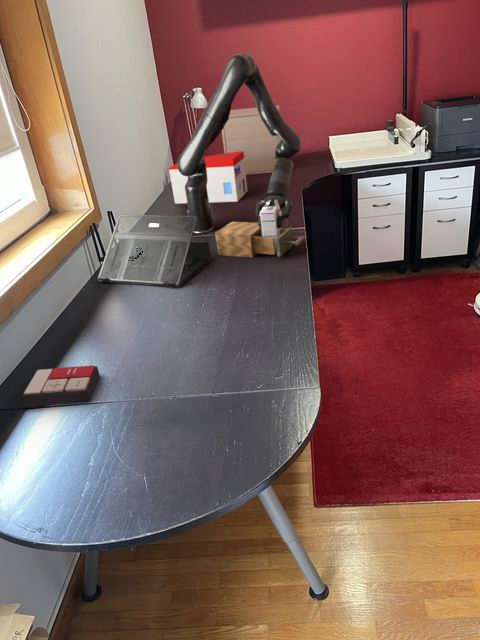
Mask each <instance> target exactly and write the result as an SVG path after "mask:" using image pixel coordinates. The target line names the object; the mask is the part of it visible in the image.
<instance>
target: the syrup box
mask: <svg viewBox="0 0 480 640" xmlns="http://www.w3.org/2000/svg"><path fill="white" fill-rule="evenodd" d="M262 208H263V209H261V211H260V217H261V227H262V236H263V237H274V244H275V249H277V246H276V238H277V237H278V236H279V235H280V228H281V227H280V228H277V227H276V223H277V219H278V217H279V214H278V211H277V207H276V206H269V207H264V206H263V207H262Z"/></svg>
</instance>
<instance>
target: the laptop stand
mask: <svg viewBox="0 0 480 640" xmlns="http://www.w3.org/2000/svg"><path fill="white" fill-rule="evenodd" d="M188 217H189V218H191V217H192V219H193V218H194V219H195V221H194V223H193V224H194V225H192V226H193V228H192V230H191V231H192V232H190V228H189V221H192V220H191V219H190V220H189V221H188V219H189V218H188ZM121 218H122V219H121ZM187 221H188V224H187V225H186V224H185V223H187ZM196 221H197V217H196V216H187V215H177V214H176V215H171V214H170V215H169V214H168V215H167V214H165V215H164V214H120V215H118V217H117V219H116V222H115V227H114V229H113V231H112V234H111V237H110V241H109V244H108V247H107V250H106V253H105V256H104V259H103V262H102V264H101V268H100V271H99V273H98V277H97V280H98V282H103V283H116V284H129V285H130V284H132V285H146V286H157V287H158V286H160V287H171V288H180V287H182V285H184V283H186V282H187V281H188V280H190V278H192V277H193V276H194V275H195V274H196V273H197V272H199V271H200V270H202V268H204V266H206V265H207V264H208V263H209V262H210V261H211V260H212V253H211V249H210V244H209V240H208V241H207V240H193V236H194V233H193V232H194V228H195V225H196ZM190 223H191V222H190ZM166 224H168V226H167V225H166ZM184 224H185V225H186V227H185V228H184ZM191 224H192V223H191ZM165 225H166V226H165ZM169 225H172V226H173V228H171V227H172V226H171V227H170V226H169ZM174 226H177V227H178V228H177V227H176V228H175V227H174ZM190 226H191V225H190ZM179 227H183V229H182V228H181V229H180V228H179ZM136 247H138V248H139V247H140V248H142V249H143V250H142V251H143V253H142V251H141V254H142V255H139V254H138V255H139V257H138V258H137V253H138V252H139V250H140V249H137V250H138V252H137V253H136ZM139 253H140V252H139ZM135 254H136V258H137V259H133V260H134V261H132V258H130V259H131V261H130V259H129V257H132V256H133V257H134V256H135ZM134 258H135V257H134ZM128 260H129V261H128Z"/></svg>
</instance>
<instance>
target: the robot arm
mask: <svg viewBox="0 0 480 640" xmlns="http://www.w3.org/2000/svg"><path fill="white" fill-rule="evenodd" d="M243 85H245V86H246V88H247V89H248V91H249V92H250V94H251V95H252V97H253V101H254V103H255V106H256V108H257V110H258V113H259V115H260V117H261V120H262V121H263V123H264V125H265V126H266V128H267V130H268V131H269V133H270V134H271V135H272V136H276V135H278V136H279V137H280V138H281V141H280V142H279V143H278V144H277V146H276V150H275V165H274V169H273V172H271V173H272V174H271V176H270V179H269V182H268V187H267V191H266V196H265V199H264V200H261V199H260V198H258V199H257V200H256V205H255V211H254V213H255V215H256V217H258V219H257V223H258V225H259V227H261V217H260V211H261V210H262V209H263V207H269V206H276V207H277V211H278V214H279V217H278V219H277V223H276V227H277V228H281V227H282V226H283V223H284V222H283V221H284V219H289V217H290V215H291V213H292V210H293V207H294V203H293V202H292V200H291V199H289V200H287V197H288V193H289V189H290V185H291V179H292V174H293V171H294V170H293V169H294V162H293V161H292V160H291V159H292V157H293V156H295V155H296V154H298V153H299V152H300V151H301V149H302V141H301V138H300V135H298V134H297V132H296V131H295V130H294V129H293V128H292V127H291V126H290V125H289V124H288V123H287V122H286V121H285V119H284V116H283V115H282V113H281V112H280V109H279V110H278V109H277V107H276V106H277V105H276V104H275V102H274V100H273V98H272V96H271V94H270V92H269V90H268V88H267V85H266V84H265V80H264V79H263V76H262V74H261V71H260V69H259V66H258V64H257V62H256V59H255V58H254V56H252V55H251V54H250V53H246V52H243V53H242V52H241V53H236V54H234V55H232V56H231V57H230V58H229V59H228V60H227V62H226V64H225V67H224V69H223V72H222V74H221V77H220V80H219V83H218V85H217V87H216V89H215V91H214V93H212V96H211V98H210V100H209V101H208V103H207V105H206V107H205V109H204V110H203V112H202V114H201V116H200V119H199V120H198V123H197V125H196V127H195V128H194V131H193V133H192V135H191V137H190V140H189V141H188V143H187V144H186V146H185V147H184V149H183V150H182V152H181V153H180V155H179V156H178V159H177V161H176V163H177V167H178V170H179V172H180V173H181V174H182V175H183V176H188V179H187V182H186V184H185V192H186V198H187V203H186V204H187V209H186V216H196V217H197V221H196V225H195V228H194V232H193V234H198V235H199V234H200V235H201V234H206V233H210V232H212V231H213V230H214V226H213V222H214V220H213V218H212V214H211V207H210V202H209V199H208V193H207V170H206V162H205V158H204V157H205V156H204V154H205V153H206V151H207V149H208V148H209V147H210V146H211V145H212V144H213V143H214V142H215V141H216V140H217V138H218V137H219V135H220V134H222V130H223V128H224V126H225V124H226V122H227V120H228V118H229V115H230V111H231V110H232V105H233V102H234V100H235V97H236V96H237V94H238V92H239V91H240V89H241V88H242V86H243ZM284 207H285V209H284V211H283V208H284ZM188 218H189V217H187V220H186V222H187V223H186V222H184V229H186V228H187V226H188V221H189V220H190V219H191V220H192V221H189V230H190V231H189V233H190V232H192V231H191V230H192V228H193V226H192V225H194V224H193V223H194V221H195V219H194V218H193V219H192V217H191V218H189V219H188ZM190 222H191V223H192V224H191V223H190ZM165 224H166V225H167V226H166V225H165ZM165 224H164V227H168V223H165ZM185 224H186V225H187V226H186V225H185ZM190 225H191V226H190ZM169 226H170V227H169V228H170V229H177V228H178V226H177V225H174V227H175V228H173V225H172V224H169ZM171 226H172V227H171ZM176 227H177V228H176ZM185 227H186V228H185ZM179 228H180V229H179V230H182V229H183V227H182V226H179ZM181 228H182V229H181ZM184 229H183V230H184Z"/></svg>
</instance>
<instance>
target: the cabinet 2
mask: <svg viewBox="0 0 480 640" xmlns="http://www.w3.org/2000/svg"><path fill="white" fill-rule="evenodd" d="M261 229H262V227H259V225H258V222H247V221H231V222H229V223H228V224H226V225H225V226H223V227H222V228H220V229H218V230H217V231H215V233H214V234H215V235H214V236H215V243H216V248H217V249H216V250H217V255H218V256H224V257H225V256H227V257H236V258H237V257H238V258H248V259H249V258H254V257H256V256H257V255H258V254H259V253H253V247H252V238H251V236H253V235H254V234H255V233H257V232H258V231H259V230H261Z"/></svg>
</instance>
